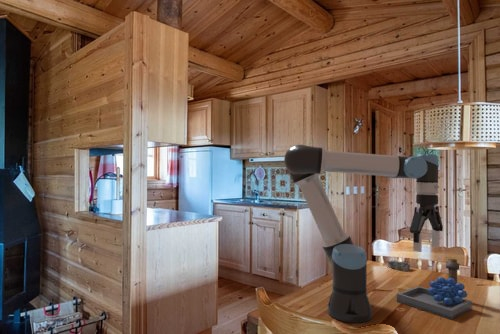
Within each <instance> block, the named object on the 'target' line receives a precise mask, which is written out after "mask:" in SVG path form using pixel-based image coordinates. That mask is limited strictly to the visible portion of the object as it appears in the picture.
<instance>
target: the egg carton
mask: <svg viewBox="0 0 500 334" xmlns="http://www.w3.org/2000/svg"><path fill="white" fill-rule="evenodd" d="M386 262H387V268H388V267H389V268H393V269H392V270H396V271H402V272H409V271H410V270H411V262H404V261H397V260H387V261H386ZM389 268H388V269H389Z"/></svg>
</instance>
